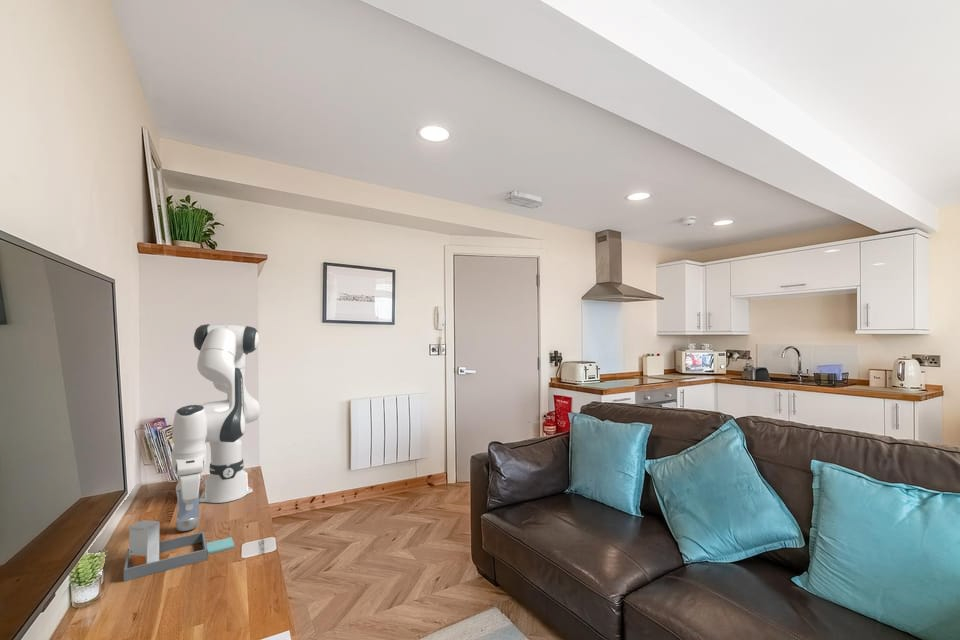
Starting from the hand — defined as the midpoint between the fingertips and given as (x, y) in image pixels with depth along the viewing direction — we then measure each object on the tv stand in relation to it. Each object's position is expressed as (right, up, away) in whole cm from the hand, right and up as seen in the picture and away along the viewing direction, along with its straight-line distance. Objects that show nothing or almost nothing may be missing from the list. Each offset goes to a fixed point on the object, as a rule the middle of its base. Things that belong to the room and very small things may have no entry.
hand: (188, 506), depth 134 cm
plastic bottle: (-11, -15, +16) cm, 24 cm away
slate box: (0, -3, 0) cm, 3 cm away
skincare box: (-8, -14, -7) cm, 18 cm away
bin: (-4, -14, -4) cm, 15 cm away
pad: (+7, -14, +4) cm, 16 cm away
